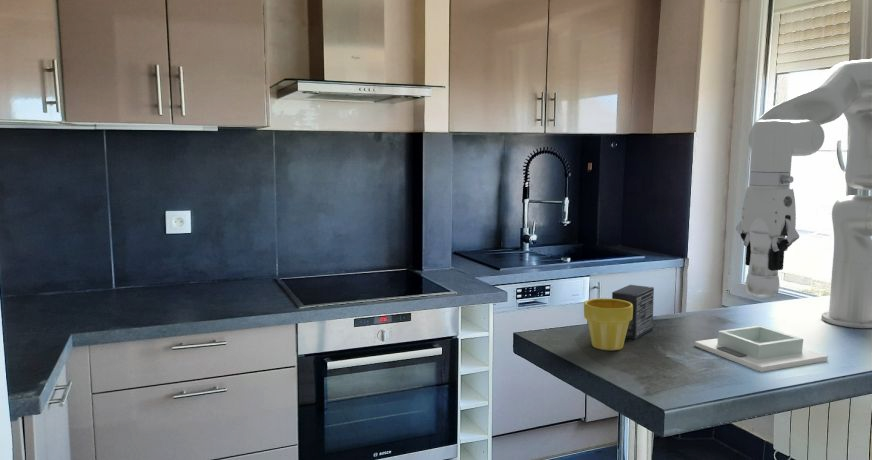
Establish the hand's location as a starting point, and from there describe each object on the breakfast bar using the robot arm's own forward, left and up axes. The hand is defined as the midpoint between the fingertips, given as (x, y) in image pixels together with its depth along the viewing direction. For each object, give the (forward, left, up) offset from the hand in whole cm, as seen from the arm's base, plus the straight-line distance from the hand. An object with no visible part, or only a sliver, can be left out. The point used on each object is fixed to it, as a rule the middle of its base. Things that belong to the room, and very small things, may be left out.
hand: (763, 266), depth 138 cm
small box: (+15, -23, -19) cm, 33 cm away
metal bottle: (0, 0, -7) cm, 7 cm away
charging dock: (0, 0, -19) cm, 19 cm away
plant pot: (+27, -16, -19) cm, 37 cm away
